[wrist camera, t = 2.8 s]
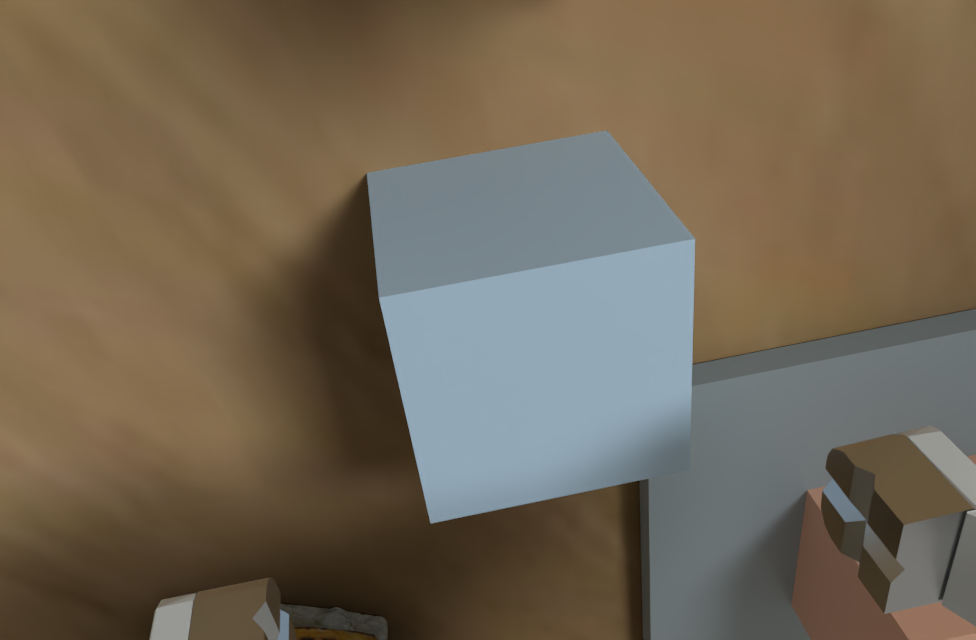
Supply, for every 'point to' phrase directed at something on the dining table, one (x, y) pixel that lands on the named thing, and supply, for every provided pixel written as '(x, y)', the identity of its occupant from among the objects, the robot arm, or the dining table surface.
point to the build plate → (784, 466)
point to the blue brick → (535, 321)
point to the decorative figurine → (334, 624)
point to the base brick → (856, 594)
